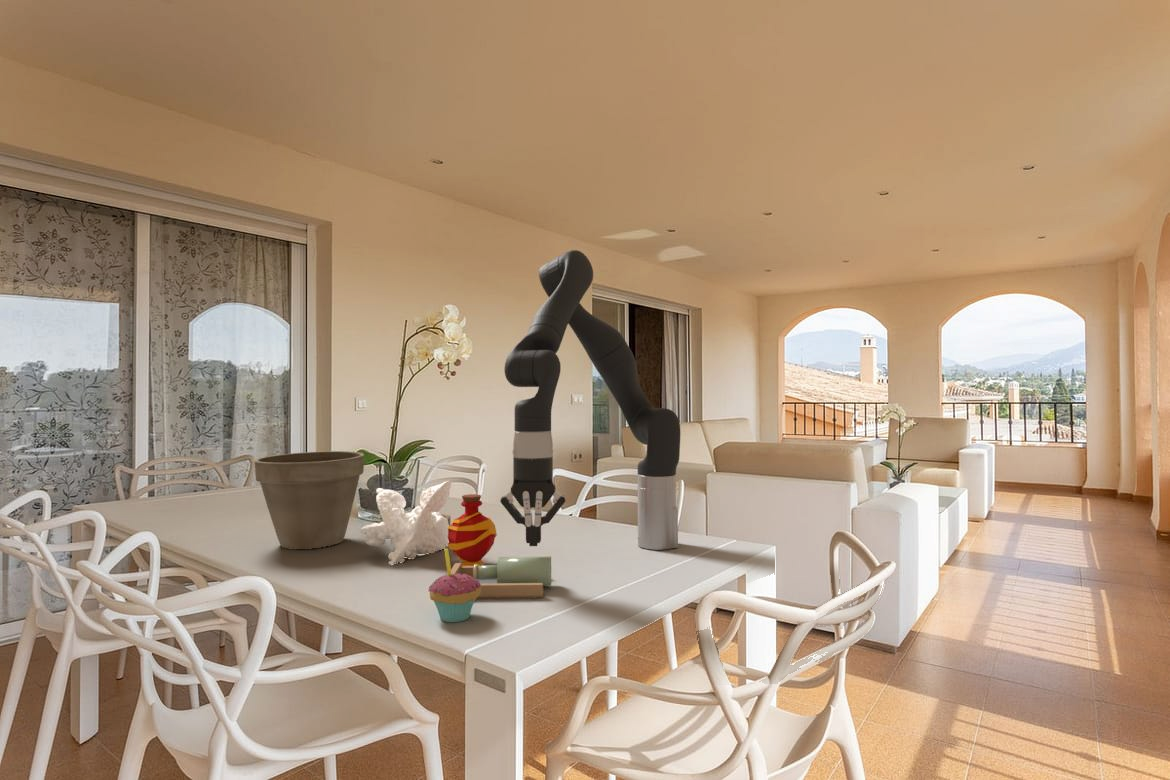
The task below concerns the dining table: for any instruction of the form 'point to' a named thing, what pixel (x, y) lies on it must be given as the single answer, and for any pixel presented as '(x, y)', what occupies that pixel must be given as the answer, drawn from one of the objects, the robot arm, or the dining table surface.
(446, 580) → the cupcake
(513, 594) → the wooden shallow tray
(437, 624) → the dining table surface
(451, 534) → the potion bottle
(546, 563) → the bottle
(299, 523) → the plant pot
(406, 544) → the white lumpy branched piece
